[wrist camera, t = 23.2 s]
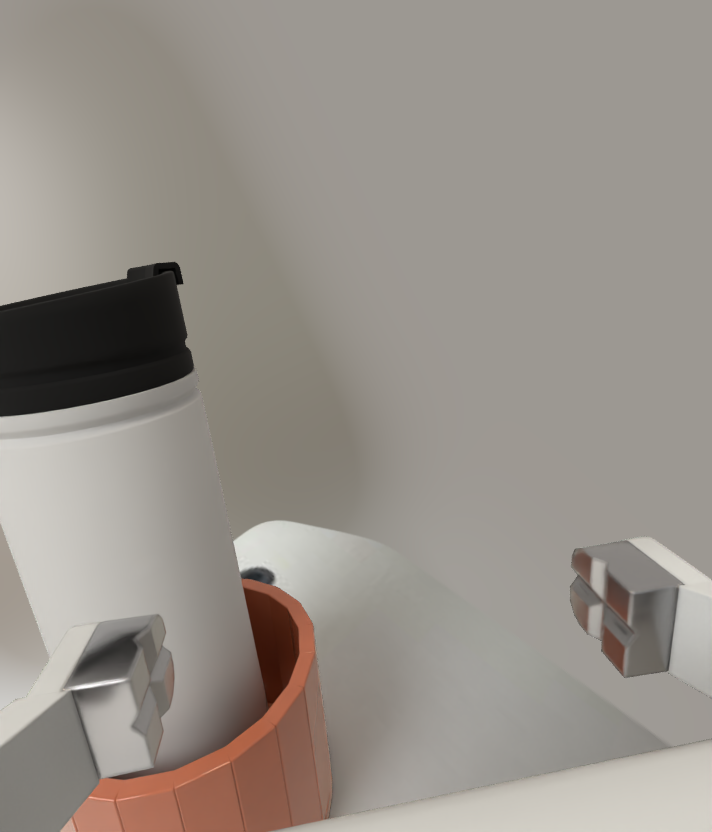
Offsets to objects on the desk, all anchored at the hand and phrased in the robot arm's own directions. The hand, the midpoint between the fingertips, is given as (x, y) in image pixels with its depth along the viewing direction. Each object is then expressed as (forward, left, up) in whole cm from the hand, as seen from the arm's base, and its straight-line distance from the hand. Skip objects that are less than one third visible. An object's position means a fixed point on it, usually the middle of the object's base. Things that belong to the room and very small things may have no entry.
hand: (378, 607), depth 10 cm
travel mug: (+4, -9, -13) cm, 17 cm away
